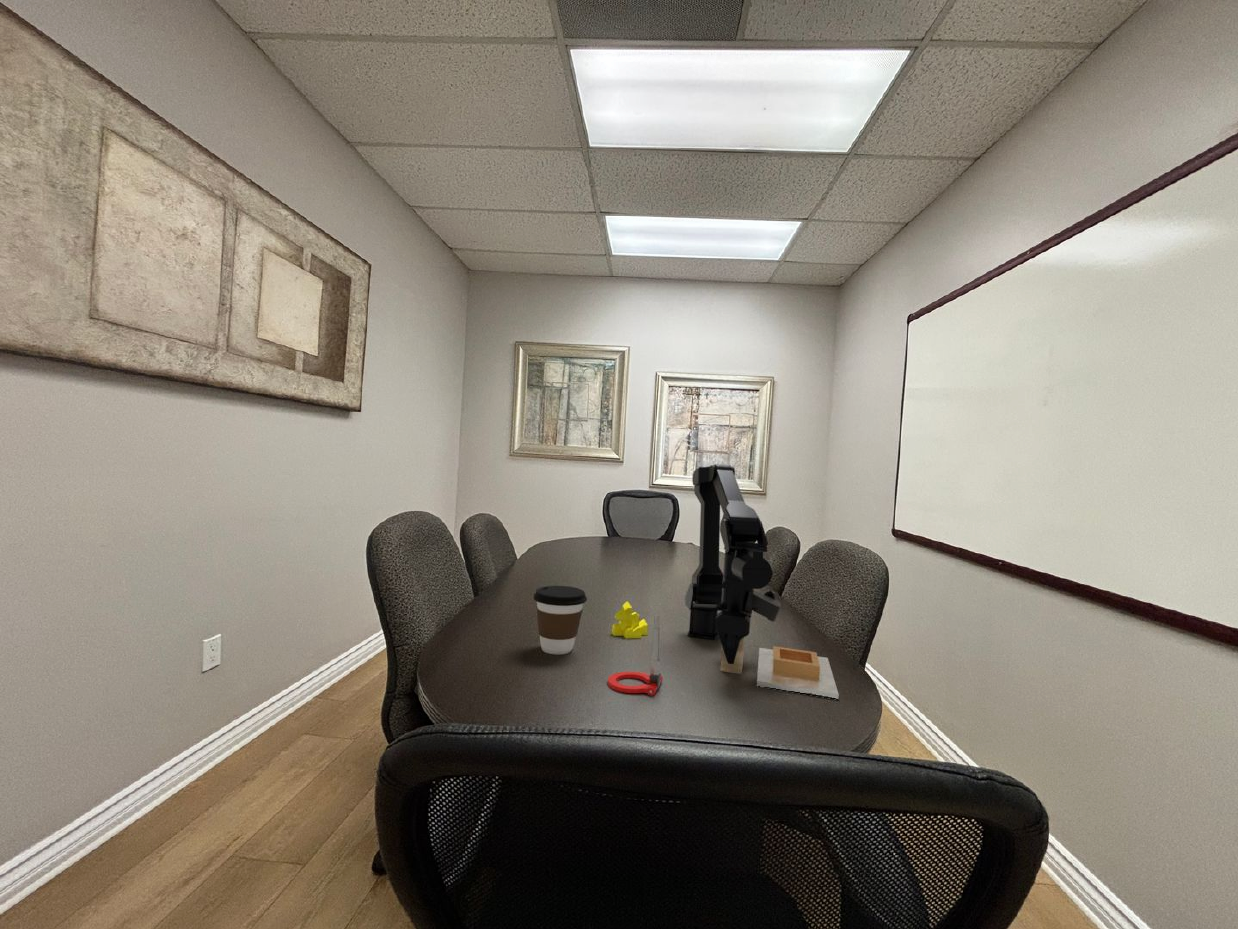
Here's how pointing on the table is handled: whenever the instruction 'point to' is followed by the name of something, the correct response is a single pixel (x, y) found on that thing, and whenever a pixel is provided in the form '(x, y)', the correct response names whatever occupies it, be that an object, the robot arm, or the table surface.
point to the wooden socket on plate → (795, 671)
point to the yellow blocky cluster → (629, 623)
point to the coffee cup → (558, 617)
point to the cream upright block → (737, 663)
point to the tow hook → (651, 679)
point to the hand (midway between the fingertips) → (732, 656)
